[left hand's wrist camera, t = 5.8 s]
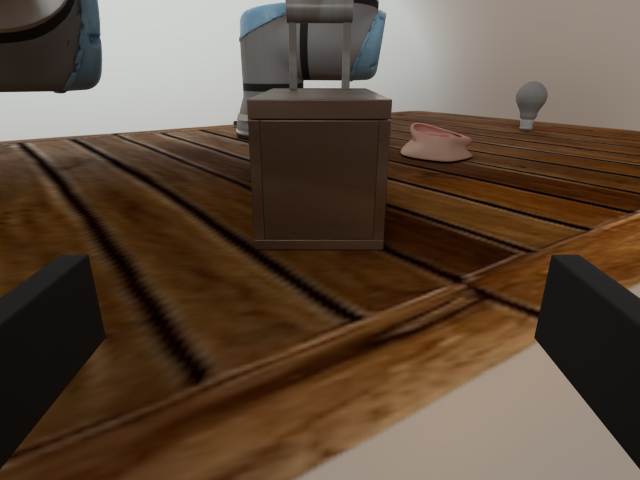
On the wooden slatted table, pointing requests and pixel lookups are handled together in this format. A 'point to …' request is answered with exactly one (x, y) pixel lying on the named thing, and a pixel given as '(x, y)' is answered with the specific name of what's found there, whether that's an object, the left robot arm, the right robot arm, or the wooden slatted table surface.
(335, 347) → the wooden slatted table surface
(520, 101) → the light bulb
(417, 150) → the anatomical model
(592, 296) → the left robot arm
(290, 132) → the chest
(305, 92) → the lid
